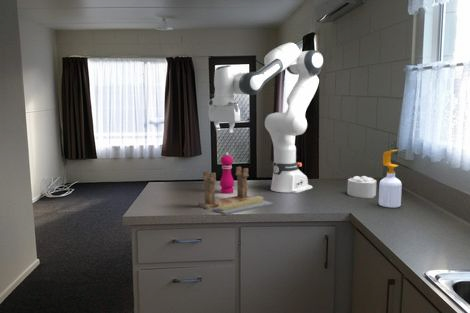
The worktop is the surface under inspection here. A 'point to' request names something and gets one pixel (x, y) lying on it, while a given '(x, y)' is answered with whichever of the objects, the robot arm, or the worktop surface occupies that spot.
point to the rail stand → (213, 203)
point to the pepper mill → (226, 175)
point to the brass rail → (240, 203)
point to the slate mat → (243, 208)
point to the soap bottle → (390, 185)
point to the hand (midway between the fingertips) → (224, 132)
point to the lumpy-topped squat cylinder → (362, 187)
